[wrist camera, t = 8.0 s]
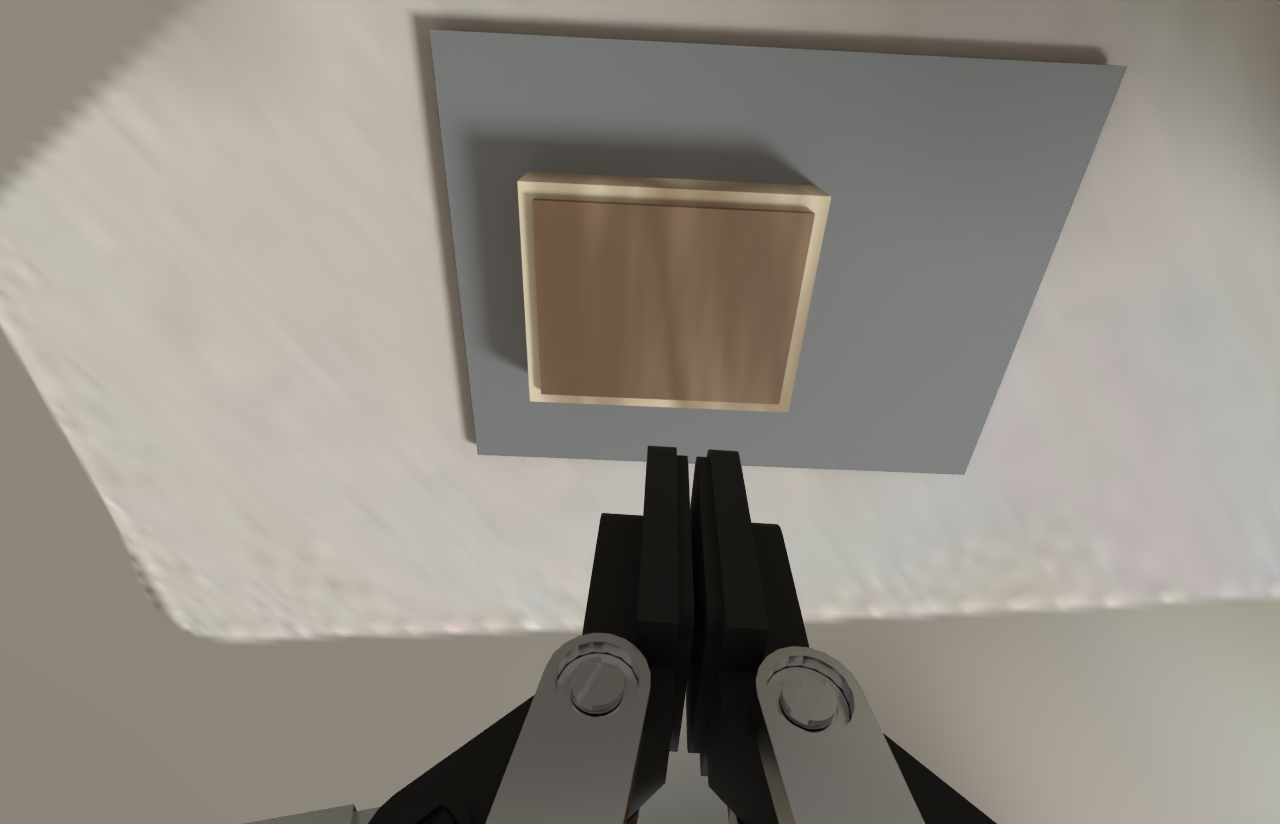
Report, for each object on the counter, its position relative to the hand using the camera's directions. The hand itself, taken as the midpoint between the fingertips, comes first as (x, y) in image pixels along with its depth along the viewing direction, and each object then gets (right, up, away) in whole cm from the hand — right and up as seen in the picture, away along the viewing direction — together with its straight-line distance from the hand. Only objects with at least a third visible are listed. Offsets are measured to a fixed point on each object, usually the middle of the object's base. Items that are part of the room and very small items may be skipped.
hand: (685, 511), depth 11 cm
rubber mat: (+3, +7, +12) cm, 14 cm away
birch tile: (+5, +6, +11) cm, 13 cm away
